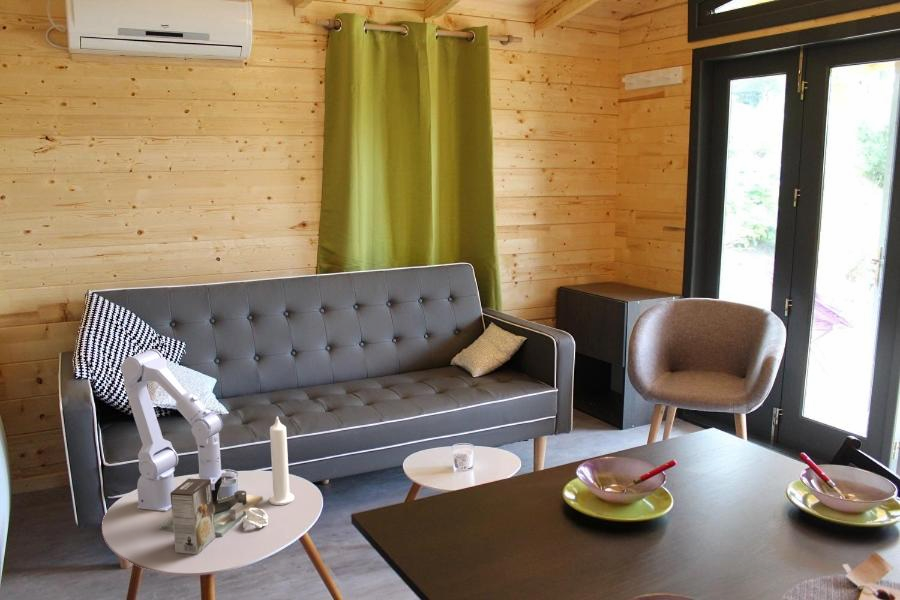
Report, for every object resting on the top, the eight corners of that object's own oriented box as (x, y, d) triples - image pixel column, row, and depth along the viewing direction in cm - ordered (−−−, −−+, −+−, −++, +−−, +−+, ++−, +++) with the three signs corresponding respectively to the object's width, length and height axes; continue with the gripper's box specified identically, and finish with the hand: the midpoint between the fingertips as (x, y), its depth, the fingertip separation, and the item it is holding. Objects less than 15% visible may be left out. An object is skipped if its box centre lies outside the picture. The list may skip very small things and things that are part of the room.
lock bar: (243, 499, 215) (243, 489, 214) (248, 503, 213) (248, 493, 212) (203, 511, 208) (203, 501, 207) (208, 515, 205) (207, 505, 205)
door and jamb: (160, 529, 201) (159, 515, 200) (206, 493, 222) (205, 481, 221) (221, 536, 197) (220, 522, 196) (262, 499, 218) (261, 486, 217)
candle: (269, 496, 220) (264, 413, 216) (293, 493, 222) (289, 411, 217) (269, 506, 213) (264, 421, 209) (294, 503, 215) (290, 419, 211)
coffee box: (193, 535, 197) (188, 477, 195) (216, 537, 196) (211, 478, 193) (174, 553, 189) (169, 492, 186) (198, 555, 187) (193, 494, 185)
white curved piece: (243, 522, 206) (241, 505, 206) (269, 517, 208) (266, 500, 207) (243, 534, 199) (240, 516, 198) (269, 528, 200) (266, 511, 200)
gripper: (224, 466, 201) (228, 513, 204) (224, 446, 215) (227, 491, 217) (196, 469, 199) (200, 517, 202) (198, 449, 213) (201, 494, 215)
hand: (212, 504), depth 209 cm, fingers closed, pressing on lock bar
